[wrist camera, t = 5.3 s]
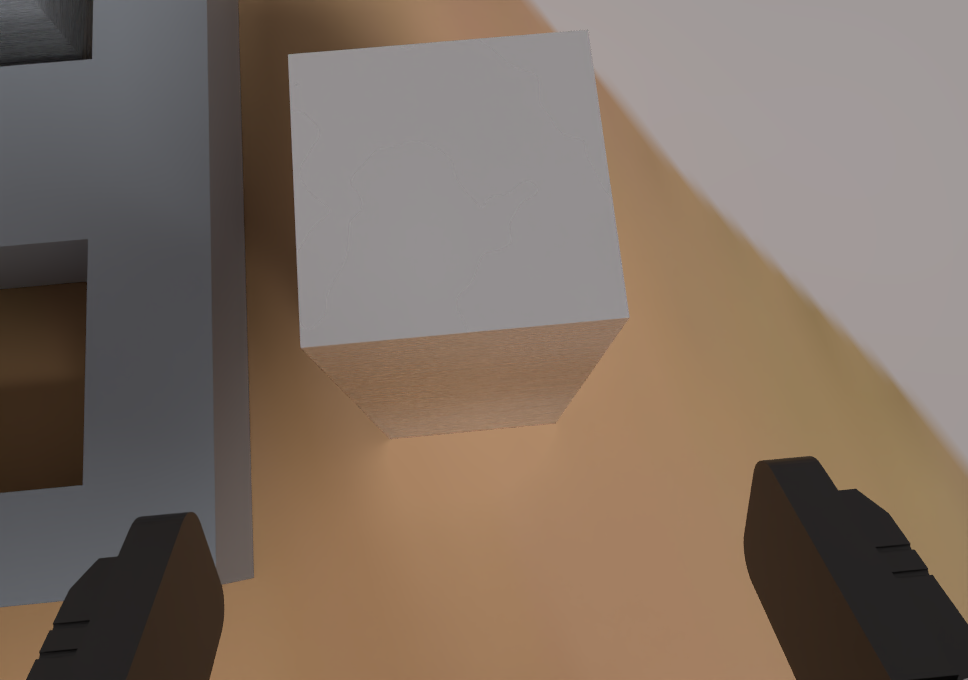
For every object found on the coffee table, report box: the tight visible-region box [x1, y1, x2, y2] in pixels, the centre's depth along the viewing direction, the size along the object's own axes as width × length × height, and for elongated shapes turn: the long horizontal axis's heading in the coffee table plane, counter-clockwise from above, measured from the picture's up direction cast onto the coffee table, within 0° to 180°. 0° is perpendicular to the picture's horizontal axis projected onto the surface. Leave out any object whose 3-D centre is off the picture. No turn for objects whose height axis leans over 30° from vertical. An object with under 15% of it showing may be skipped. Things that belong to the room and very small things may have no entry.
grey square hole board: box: [0, 0, 254, 607], centre depth 21 cm, size 22×12×3 cm, turn 6°
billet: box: [288, 30, 629, 439], centre depth 17 cm, size 4×4×11 cm
